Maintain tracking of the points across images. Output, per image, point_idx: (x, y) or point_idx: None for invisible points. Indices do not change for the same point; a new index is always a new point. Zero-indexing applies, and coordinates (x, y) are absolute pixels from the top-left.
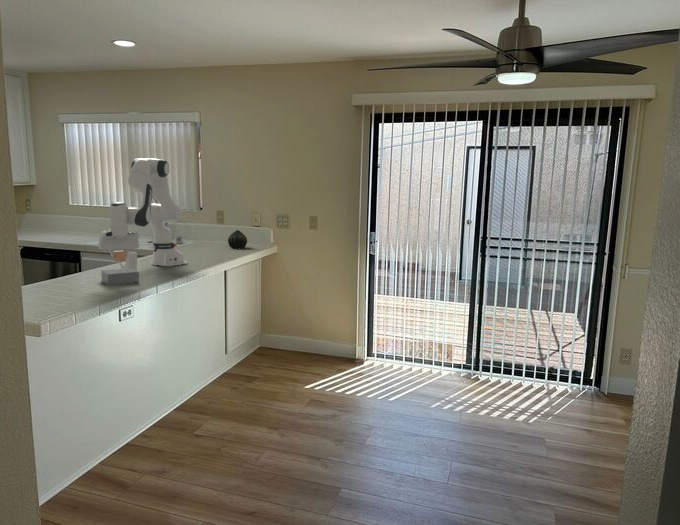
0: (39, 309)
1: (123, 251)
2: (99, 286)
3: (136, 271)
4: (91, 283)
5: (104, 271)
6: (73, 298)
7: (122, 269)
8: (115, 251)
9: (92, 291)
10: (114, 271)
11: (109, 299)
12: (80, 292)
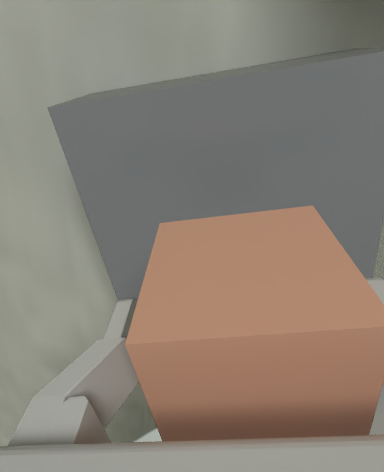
0: None
1: (340, 430)
2: (88, 254)
3: (361, 262)
4: (25, 157)
5: (85, 182)
6: (12, 395)
7: (274, 126)
8: (173, 401)
9: (65, 334)
10: (177, 209)
11: (137, 432)
12: (15, 334)
